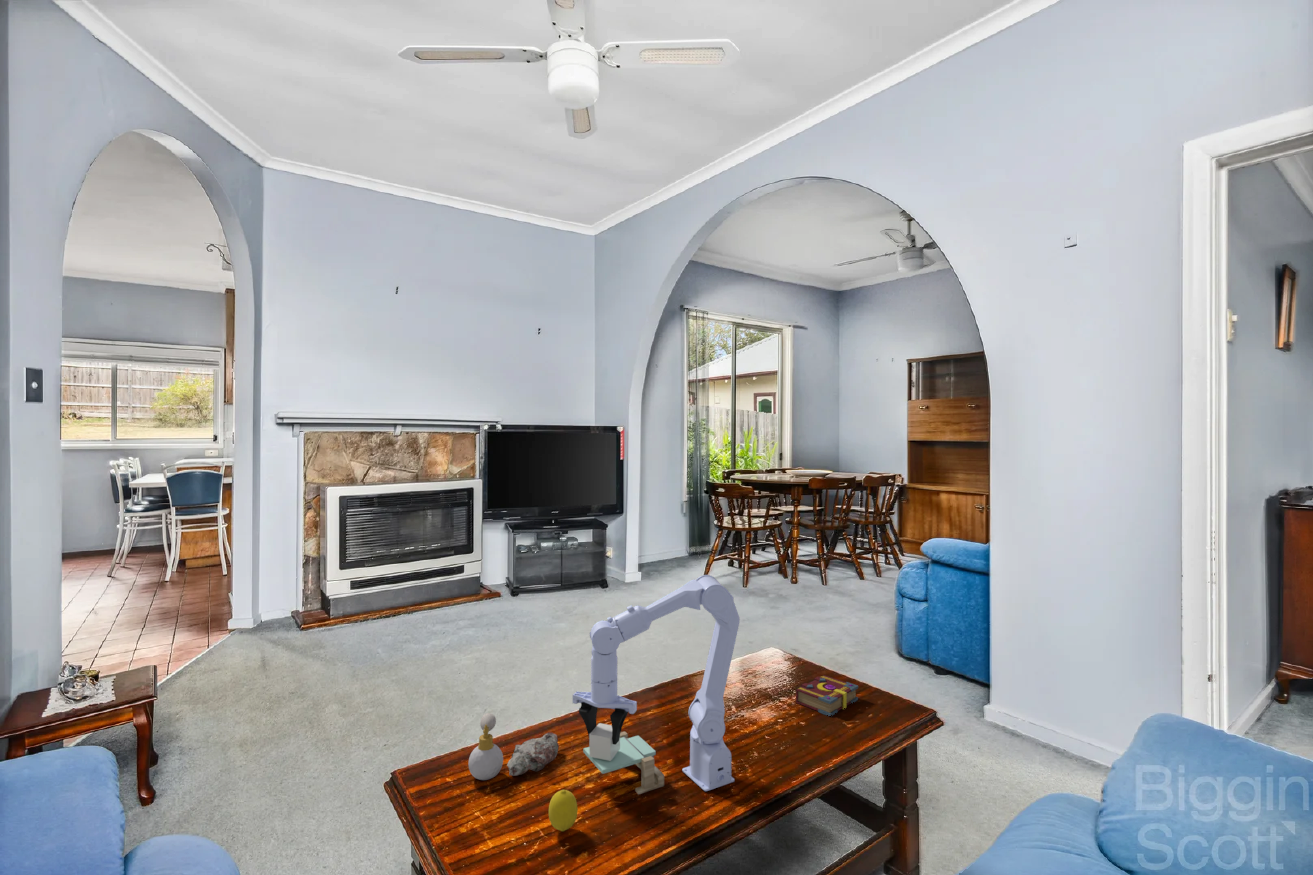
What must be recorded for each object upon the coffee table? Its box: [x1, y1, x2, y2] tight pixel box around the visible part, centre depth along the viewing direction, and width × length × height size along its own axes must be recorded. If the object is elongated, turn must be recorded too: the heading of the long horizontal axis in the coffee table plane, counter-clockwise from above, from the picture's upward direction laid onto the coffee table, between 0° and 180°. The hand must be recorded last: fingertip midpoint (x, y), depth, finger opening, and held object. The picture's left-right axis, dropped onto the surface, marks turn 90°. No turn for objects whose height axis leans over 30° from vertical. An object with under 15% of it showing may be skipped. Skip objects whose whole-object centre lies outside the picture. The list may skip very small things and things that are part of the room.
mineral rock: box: [506, 732, 560, 777], centre depth 144 cm, size 15×8×4 cm, turn 133°
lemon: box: [548, 789, 578, 832], centre depth 120 cm, size 6×6×8 cm
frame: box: [620, 731, 665, 795], centre depth 140 cm, size 14×6×7 cm, turn 30°
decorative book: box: [795, 674, 859, 717], centre depth 177 cm, size 11×16×5 cm
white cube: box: [588, 722, 620, 761], centre depth 136 cm, size 5×5×5 cm
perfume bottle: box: [468, 712, 504, 781], centre depth 140 cm, size 8×10×12 cm
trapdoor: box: [582, 735, 657, 775], centre depth 138 cm, size 11×14×2 cm
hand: (604, 739), depth 136 cm, fingers closed on white cube, 5 cm apart
